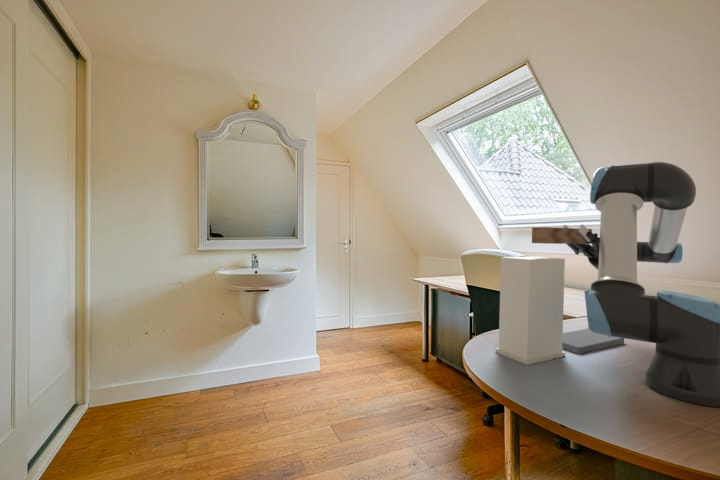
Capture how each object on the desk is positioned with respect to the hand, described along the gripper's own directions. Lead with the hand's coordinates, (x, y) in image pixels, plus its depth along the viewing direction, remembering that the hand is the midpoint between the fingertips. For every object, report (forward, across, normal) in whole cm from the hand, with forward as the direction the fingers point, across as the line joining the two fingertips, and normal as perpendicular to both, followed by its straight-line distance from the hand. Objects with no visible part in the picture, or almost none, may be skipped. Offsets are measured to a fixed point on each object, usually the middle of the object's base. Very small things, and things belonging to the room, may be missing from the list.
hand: (571, 228), depth 113 cm
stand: (-2, -1, -45) cm, 45 cm away
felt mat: (-26, -1, -31) cm, 40 cm away
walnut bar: (+2, 0, -7) cm, 7 cm away
